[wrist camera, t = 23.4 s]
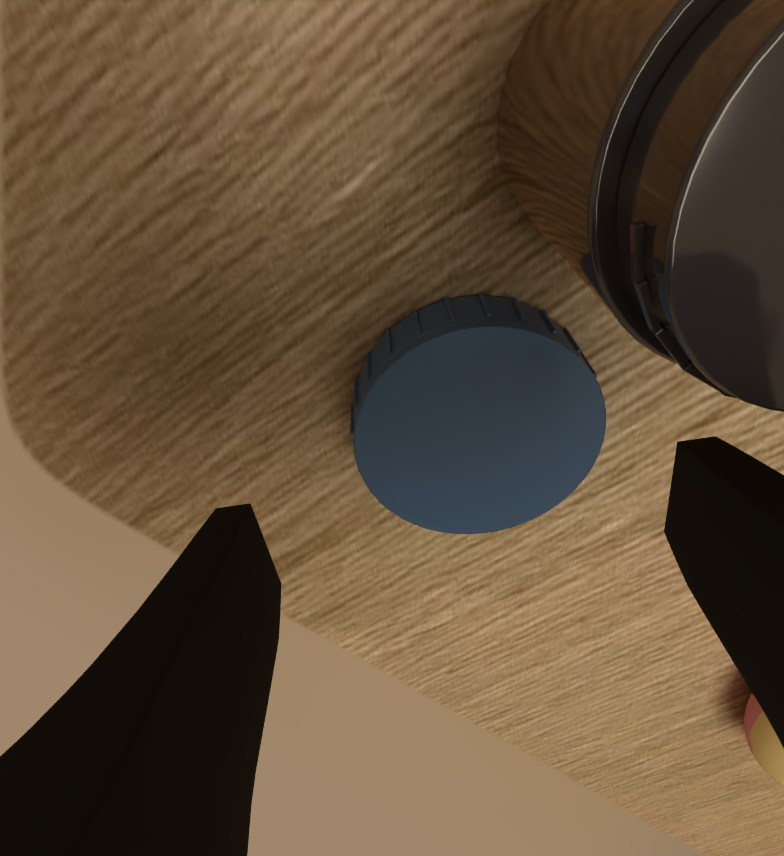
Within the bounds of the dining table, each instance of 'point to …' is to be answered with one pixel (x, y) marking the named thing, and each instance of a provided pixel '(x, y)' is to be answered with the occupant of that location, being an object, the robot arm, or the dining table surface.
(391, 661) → the dining table surface
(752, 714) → the donut
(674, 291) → the jar
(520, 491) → the lid
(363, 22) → the dining table surface
